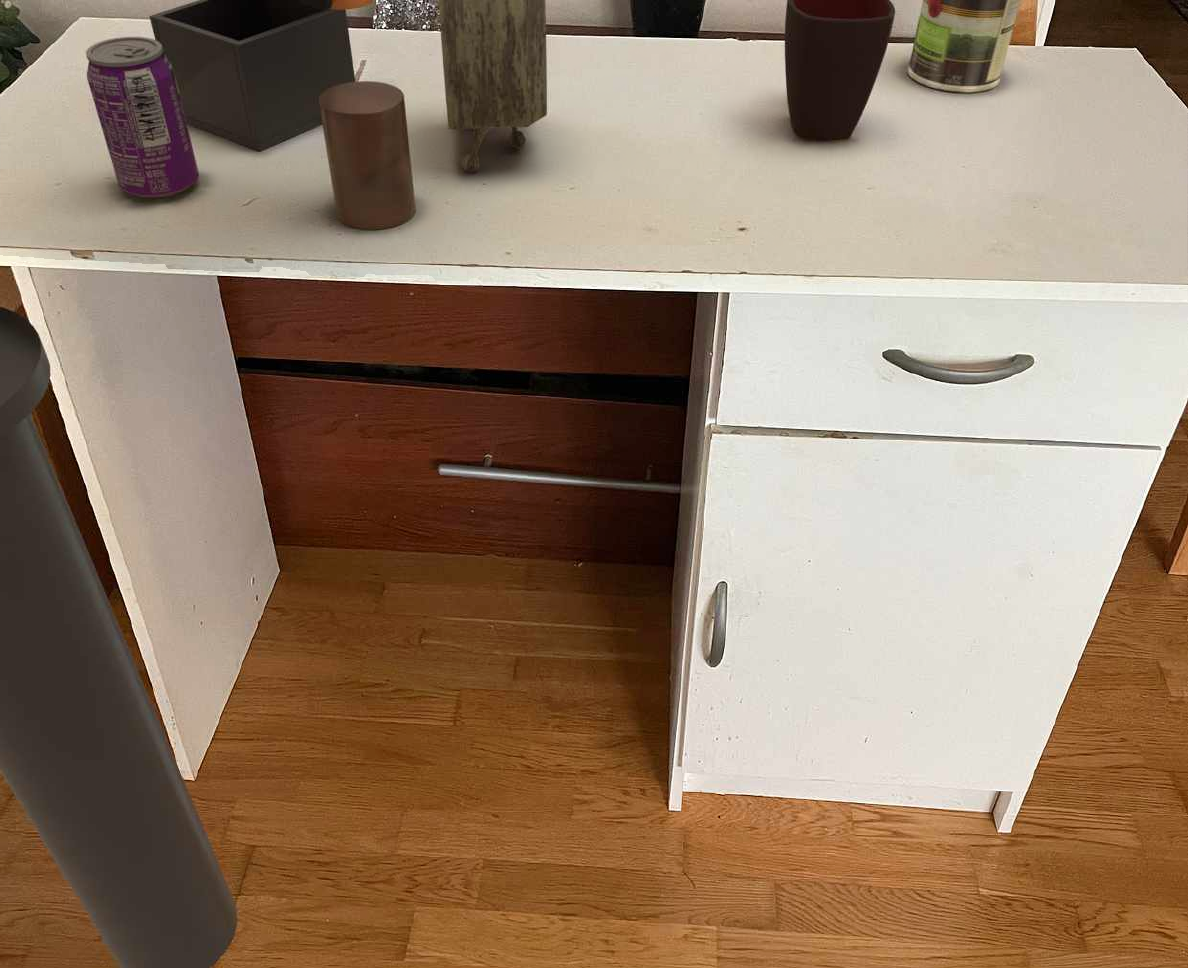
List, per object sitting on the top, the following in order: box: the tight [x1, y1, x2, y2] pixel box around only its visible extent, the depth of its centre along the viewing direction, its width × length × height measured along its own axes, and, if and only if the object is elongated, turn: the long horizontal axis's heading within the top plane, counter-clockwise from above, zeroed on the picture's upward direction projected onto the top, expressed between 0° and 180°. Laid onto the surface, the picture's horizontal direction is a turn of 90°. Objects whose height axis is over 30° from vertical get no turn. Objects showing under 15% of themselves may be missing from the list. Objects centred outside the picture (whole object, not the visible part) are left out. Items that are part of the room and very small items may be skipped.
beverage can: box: [85, 36, 200, 199], centre depth 98 cm, size 7×7×12 cm
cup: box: [784, 0, 896, 142], centre depth 111 cm, size 10×14×12 cm
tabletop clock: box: [437, 0, 548, 173], centre depth 101 cm, size 14×9×25 cm, turn 6°
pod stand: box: [319, 80, 417, 231], centre depth 96 cm, size 7×7×10 cm
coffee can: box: [907, 0, 1022, 94], centre depth 120 cm, size 10×10×14 cm
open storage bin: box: [149, 0, 356, 152], centre depth 111 cm, size 14×13×10 cm
